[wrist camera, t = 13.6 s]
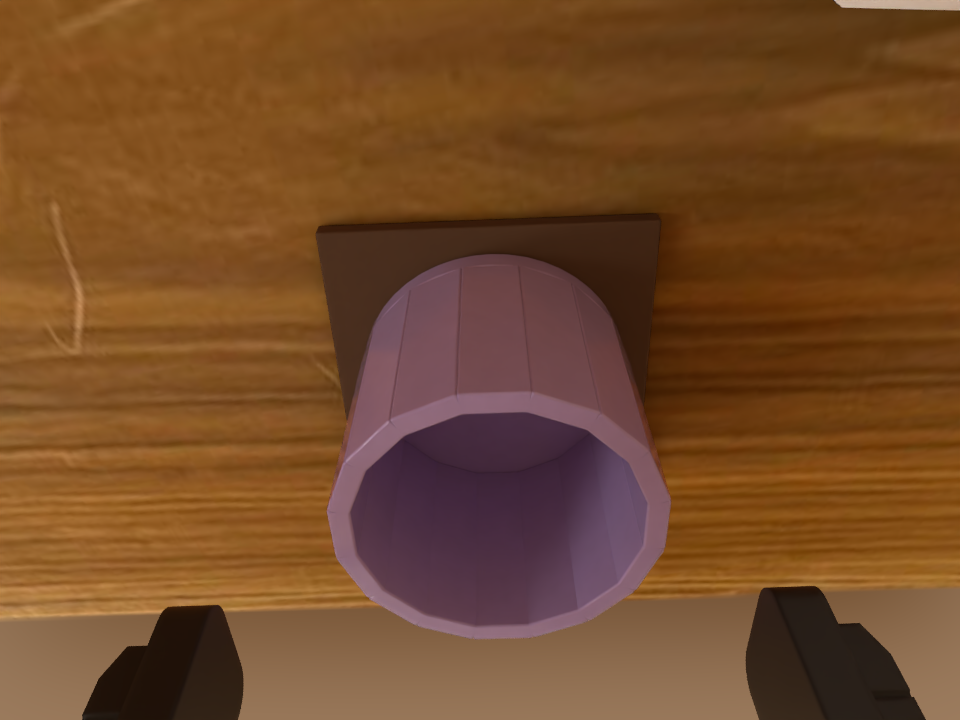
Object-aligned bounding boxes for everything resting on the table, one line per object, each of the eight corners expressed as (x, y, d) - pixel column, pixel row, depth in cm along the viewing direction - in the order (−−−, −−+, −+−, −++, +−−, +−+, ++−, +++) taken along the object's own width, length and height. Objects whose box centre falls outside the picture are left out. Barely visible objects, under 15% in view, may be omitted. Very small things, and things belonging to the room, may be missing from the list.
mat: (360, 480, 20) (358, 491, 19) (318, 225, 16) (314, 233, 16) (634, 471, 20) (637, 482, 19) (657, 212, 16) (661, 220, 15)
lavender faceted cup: (380, 471, 19) (352, 643, 15) (349, 257, 16) (303, 399, 12) (615, 464, 19) (654, 635, 15) (631, 247, 16) (686, 387, 12)
